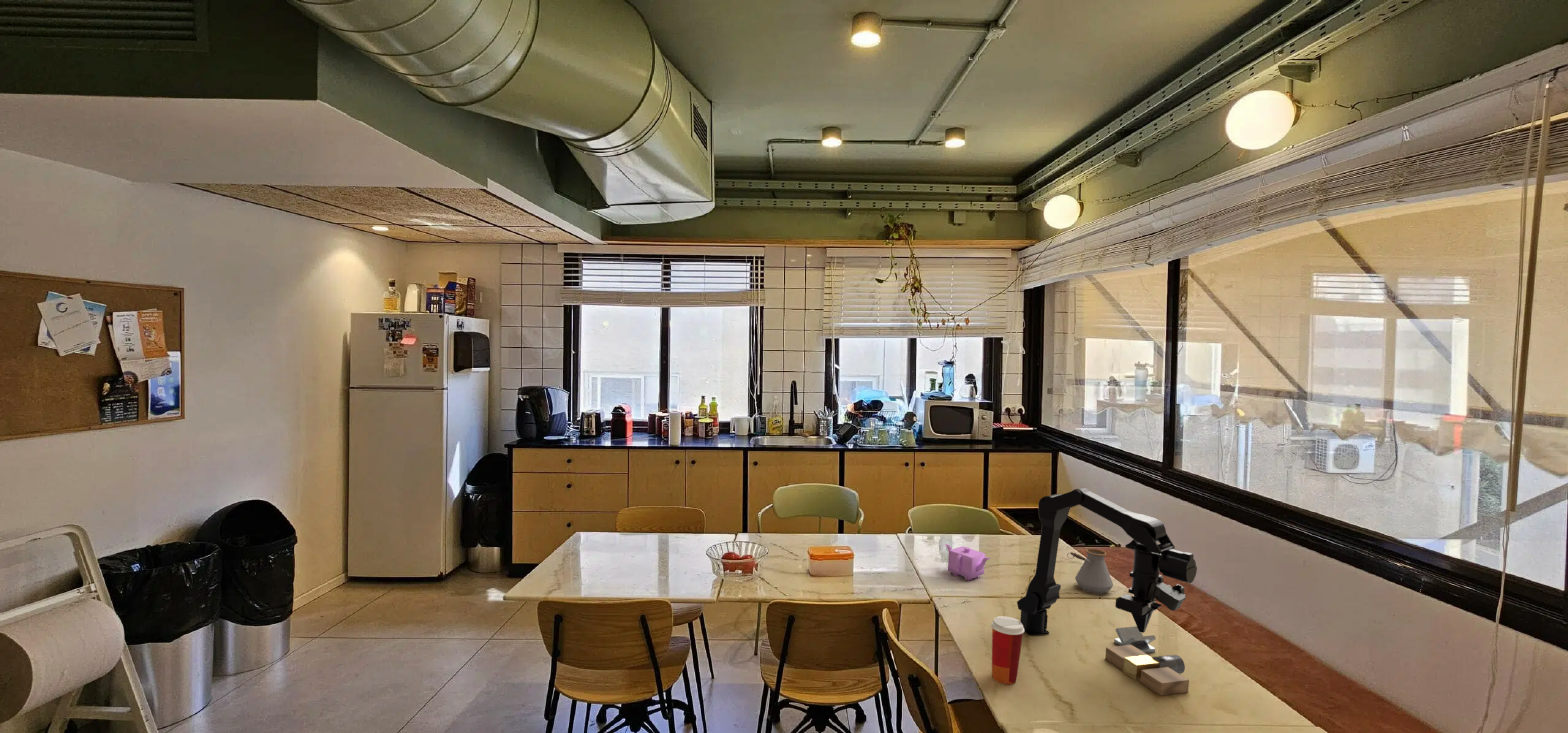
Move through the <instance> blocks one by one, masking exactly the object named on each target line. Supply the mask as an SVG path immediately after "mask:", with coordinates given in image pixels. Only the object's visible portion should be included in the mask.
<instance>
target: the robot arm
mask: <svg viewBox="0 0 1568 733" xmlns="http://www.w3.org/2000/svg"><path fill="white" fill-rule="evenodd" d="M1037 504H1038V506H1037V507H1038V510H1037V511H1038V518H1039V520H1040V524H1041V531H1040V539H1039V544H1038V553H1037V560H1036V567H1035V573H1034V575H1033V577H1032V579H1031V580H1030V582H1029V583H1028V587H1027V589H1026V593H1025V596H1023V597H1021V599H1019V600H1017V601H1016V604H1017V608H1018V610H1020V620H1019V621H1020V622H1021V623H1022V625H1023V628H1024V633H1025V634H1026V635H1028V636H1030V637H1031V636H1042V635H1050V631H1048V630H1047V629H1048V617H1049V616H1048V614H1047V613H1048V610H1049V609H1050V608H1051V606H1052V605H1053V604H1055V603H1056V602H1057V601H1058V600H1059V599H1060V598H1061V596H1060V591H1061V586H1062V585H1061V583H1057V582H1056V580H1055V571H1056V563H1057V557H1058V556H1057V555H1058V549H1059V543H1060V542H1059V541H1060V534H1061V529H1062V526H1063V525H1064V523H1065V522H1066V520H1067V518H1068V516H1069V513H1070V510H1071V508H1074V507H1077V506H1080V507H1083V508H1085V509H1087V511H1088V510H1089V511H1090V512H1092V513H1094V514H1095V515H1097V516H1100V517H1101V518H1104V519H1105V520H1108V521H1109V522H1110V523H1113V524H1115V525H1116V526H1119V527H1120V528H1121V529H1122V530H1123V531H1124V533H1125V534H1126V535H1127V536H1128V537H1129V538H1131V539H1132V540H1131V541H1130V542H1129V543H1127V544H1125V548H1127V549H1130V550H1134V551H1133V566H1132V571H1130V572H1129V577H1131V578H1132V579H1131V580H1132V581H1131V587H1129V588H1128V592H1127V593H1128V594H1127V593H1125V594H1123V595H1121V596H1119V597H1117V598H1115V605H1114V606H1115V608H1116V609H1118V610H1121V611H1125V612H1128V613H1130V614H1131V616H1132V618H1133V621H1134V623H1135V626H1137V628H1138V630H1139V632H1141V633H1142V634H1144V633H1146V630H1147V628H1148V624H1149V623H1150V620H1151V617H1152V615H1153V613H1154V611H1157V609H1159V608H1161V607H1162V606H1166V608H1167V609H1168V610H1170V611H1173V612H1174V611H1176V610H1178V609H1180V608H1181V606H1182V604H1183V602H1184V601H1186V596H1187V594H1185V587H1184V586H1183V585H1181V584H1179V583H1177V584H1176V585H1174V586H1172V585H1170V584H1166V583H1164V577H1167V578H1170V579H1174V580H1178V581H1180V582H1185V583H1188V584H1192V583H1193V582H1194V580H1195V578H1196V575H1197V572H1198V566H1197V563H1196V560H1195V559H1194V557H1195V556H1194V554H1193V553H1192V552H1189V551H1181V550H1178V549H1177V550H1176V546H1175V545H1174V543H1173V542H1172V540H1171V538H1170V537H1169V535H1168V533H1167V530H1166V527H1165V523H1163V521H1161V520H1160V519H1158V518H1155V517H1152V516H1149V515H1147V514H1141V513H1138V512H1133V511H1130V510H1128V509H1126V508H1123V507H1122V506H1120V505H1118V504H1116V503H1114V502H1113V501H1110V500H1108V499H1107V498H1104V497H1102V496H1101V495H1098V494H1096V493H1094V492H1093V491H1090V489H1088V488H1087V487H1080V488H1074V489H1073V490H1071V491H1069V492H1065V493H1055V494H1051V495H1046V496H1043V497H1041V498H1040V499H1039V500H1038V503H1037ZM1158 543H1159V544H1158ZM1160 573H1161V574H1162V575H1161V574H1160ZM1163 576H1164V577H1163ZM1157 601H1158V602H1159V603H1157Z"/></svg>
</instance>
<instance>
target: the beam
mask: <svg viewBox="0 0 1568 733" xmlns="http://www.w3.org/2000/svg"><path fill="white" fill-rule="evenodd" d="M1141 655H1148V656H1150V655H1149V654H1148V653H1144V652H1142V651H1141V650H1139V649H1138V648H1136V647H1134V646H1133V645H1124V646H1119V645H1116V646H1106V647H1105V656H1104V657H1105V660H1107V661H1109V662H1110V663H1111V664H1113V665H1115V666H1116V667H1117V668H1119V669H1120V670H1122V671H1124V658H1125V657H1132V656H1141ZM1139 681H1140V683H1142V684H1143V685H1144V686H1146V687H1147V688H1149V689H1150V690H1152V691H1154V693H1156V694H1158V695H1159V696H1167V695H1174V694H1175V695H1177V694H1183V693H1184V694H1185V693H1189V685H1190V684H1189V683H1190V680H1189V678H1188V677H1185V676H1184V675H1181V674H1179V673H1177V672H1175V671H1174V670H1172V669H1170V668H1169V667H1163V668H1154V669H1145V670H1141V680H1139Z"/></svg>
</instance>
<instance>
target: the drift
mask: <svg viewBox="0 0 1568 733" xmlns="http://www.w3.org/2000/svg"><path fill="white" fill-rule="evenodd" d="M1148 655H1149V654H1147V655H1141V656H1132V657H1125V658H1124V670H1122V671H1123V673H1124V674H1126V675H1127V676H1128V677H1130V678H1131V679H1133V680H1134V681H1141V670H1145V669H1154V668H1160V662H1158V661H1157V660H1155V659H1153V658H1152V657H1153V656H1150V655H1149V656H1148Z"/></svg>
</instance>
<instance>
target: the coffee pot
mask: <svg viewBox="0 0 1568 733" xmlns="http://www.w3.org/2000/svg"><path fill="white" fill-rule="evenodd" d="M1085 553H1086V558H1085V557H1084V556H1082V555H1080V554H1077V553H1076V552H1068V553H1067V555H1066V557H1067V558H1068V559H1071V560H1072V559H1074V558H1076V559H1078V560H1081V561H1084V562H1083V563H1082V565H1081V567H1080V569H1079V570H1078V571H1077V573H1076V575H1075V578H1074V579H1075V582H1076V584H1077V585H1078V586H1079V587H1080V588H1081V590H1083V591H1084V592H1086V593H1090V594H1096V595H1104V594H1106V593H1107V592H1109V591H1110V590H1111V589H1112V588H1113V586H1114V582H1113V580H1112V577H1111V574H1110V571H1109V568H1108V566H1107V564H1106V560H1105V557H1106V556H1107V552H1105V551H1104V550H1101V549H1097V548H1086V549H1085ZM1069 554H1070V555H1071V556H1072V557H1069Z"/></svg>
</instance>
